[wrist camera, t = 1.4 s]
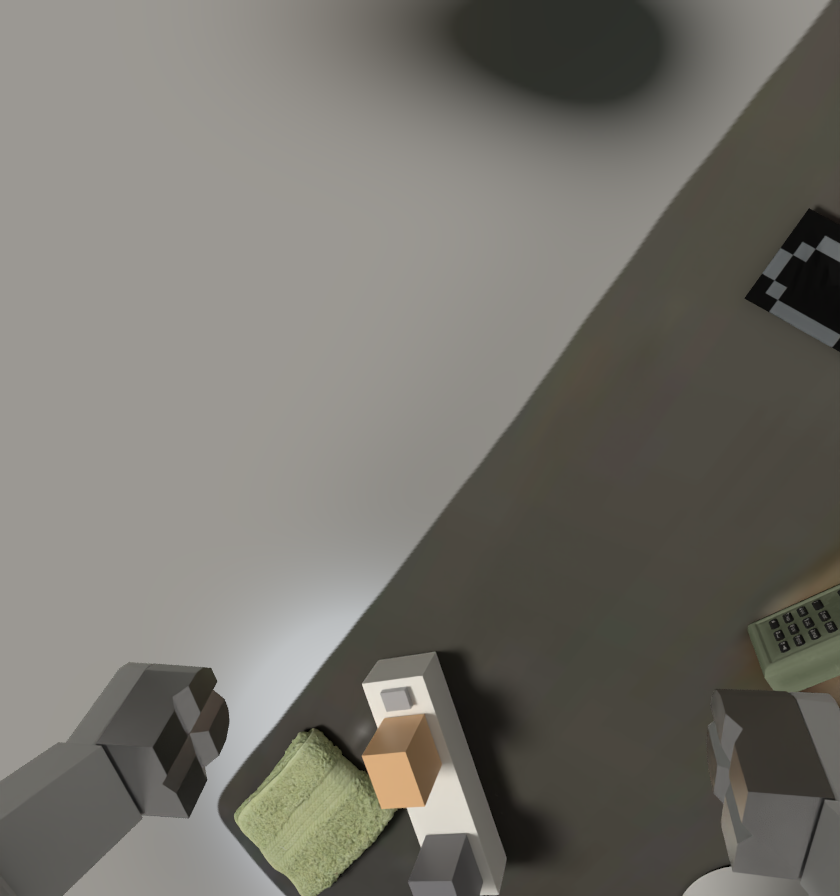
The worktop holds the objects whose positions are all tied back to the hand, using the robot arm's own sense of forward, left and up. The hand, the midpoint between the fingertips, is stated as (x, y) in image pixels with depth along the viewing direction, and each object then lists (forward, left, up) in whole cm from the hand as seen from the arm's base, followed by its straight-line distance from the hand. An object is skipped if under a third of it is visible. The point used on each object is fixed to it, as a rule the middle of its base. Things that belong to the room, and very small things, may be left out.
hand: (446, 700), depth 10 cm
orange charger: (-26, +23, -40) cm, 53 cm away
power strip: (-31, +23, -42) cm, 57 cm away
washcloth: (-35, +39, -42) cm, 68 cm away
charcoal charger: (-38, +23, -40) cm, 60 cm away
